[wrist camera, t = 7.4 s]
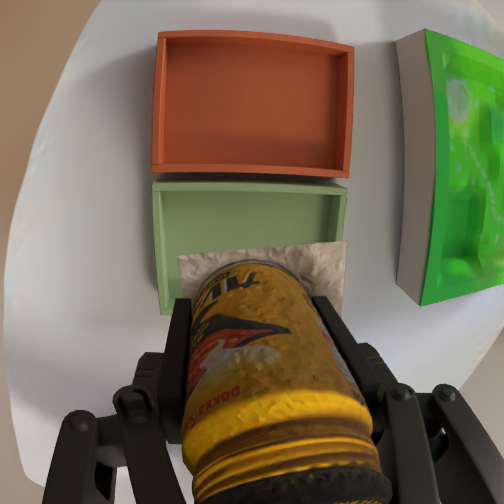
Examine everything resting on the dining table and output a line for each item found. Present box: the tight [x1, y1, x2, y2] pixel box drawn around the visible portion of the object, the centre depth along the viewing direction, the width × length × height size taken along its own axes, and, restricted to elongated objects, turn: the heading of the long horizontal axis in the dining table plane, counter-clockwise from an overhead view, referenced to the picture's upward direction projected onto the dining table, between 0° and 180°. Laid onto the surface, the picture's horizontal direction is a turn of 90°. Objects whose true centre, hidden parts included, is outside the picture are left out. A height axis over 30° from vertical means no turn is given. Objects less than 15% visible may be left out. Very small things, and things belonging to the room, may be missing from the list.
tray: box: [395, 29, 504, 306], centre depth 25 cm, size 25×25×5 cm
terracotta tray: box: [152, 30, 354, 179], centre depth 22 cm, size 11×15×2 cm
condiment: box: [177, 241, 393, 504], centre depth 11 cm, size 7×8×12 cm
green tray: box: [152, 179, 348, 315], centre depth 26 cm, size 11×15×2 cm
